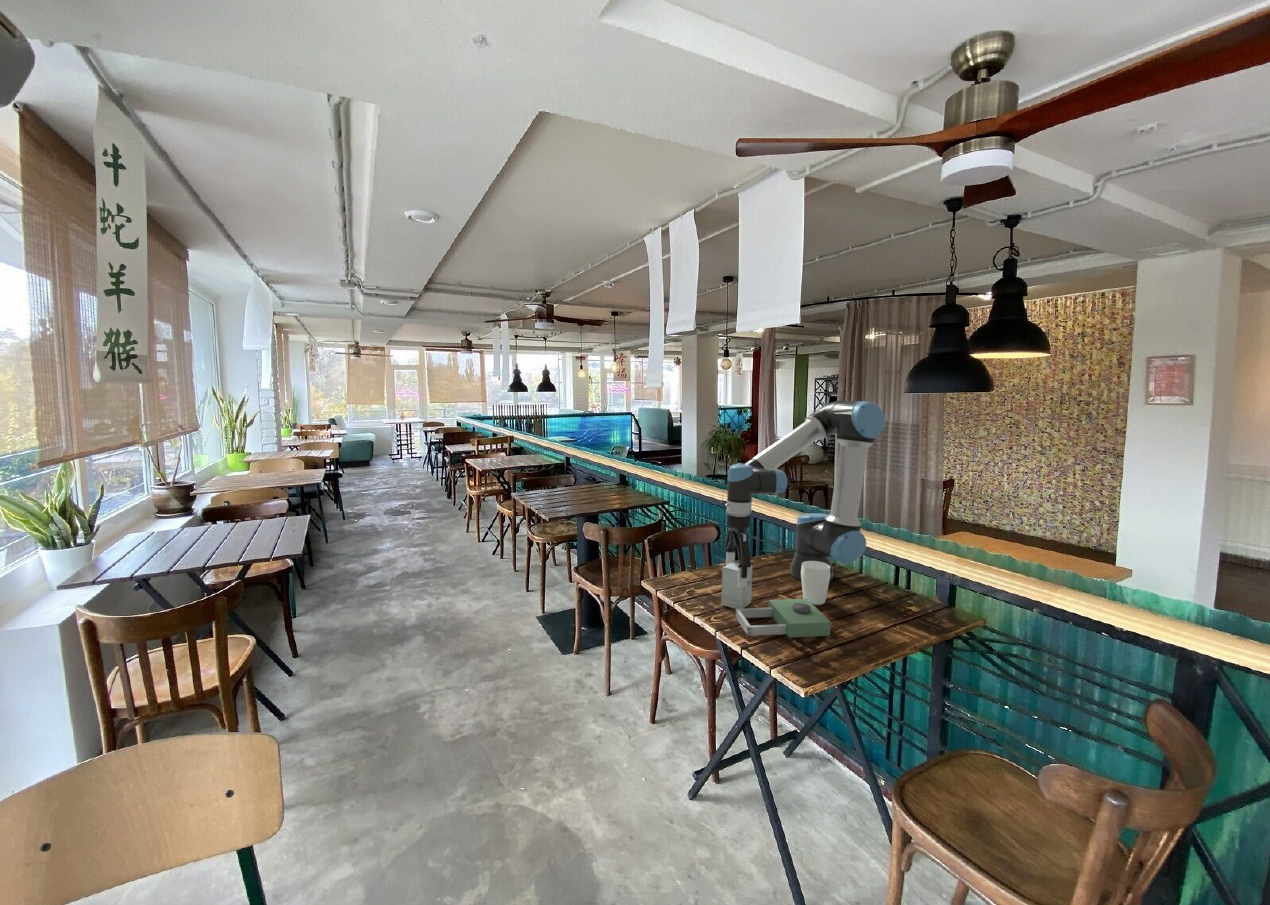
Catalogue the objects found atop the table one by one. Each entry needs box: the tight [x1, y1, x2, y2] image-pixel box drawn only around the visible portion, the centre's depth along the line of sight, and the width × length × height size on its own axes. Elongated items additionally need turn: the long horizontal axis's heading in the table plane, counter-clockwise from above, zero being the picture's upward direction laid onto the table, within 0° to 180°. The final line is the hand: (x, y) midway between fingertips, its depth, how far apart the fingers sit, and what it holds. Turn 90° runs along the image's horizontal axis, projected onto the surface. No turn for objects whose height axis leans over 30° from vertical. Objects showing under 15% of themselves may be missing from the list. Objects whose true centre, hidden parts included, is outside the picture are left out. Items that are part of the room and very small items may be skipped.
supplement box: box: [720, 561, 753, 610], centre depth 162 cm, size 7×7×13 cm
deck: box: [734, 598, 832, 639], centre depth 149 cm, size 23×16×5 cm
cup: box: [801, 561, 831, 606], centre depth 165 cm, size 9×9×12 cm
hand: (735, 579), depth 162 cm, fingers open, 13 cm apart
